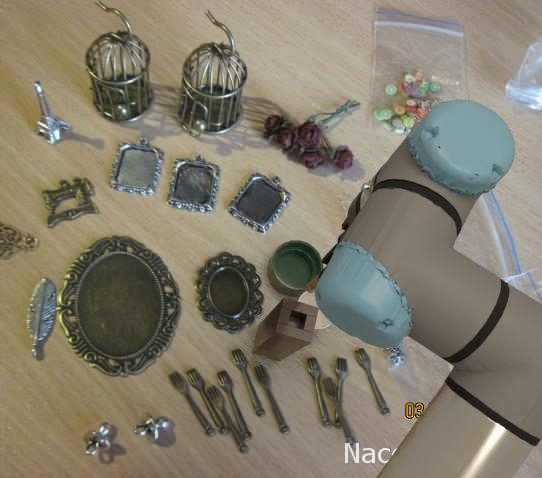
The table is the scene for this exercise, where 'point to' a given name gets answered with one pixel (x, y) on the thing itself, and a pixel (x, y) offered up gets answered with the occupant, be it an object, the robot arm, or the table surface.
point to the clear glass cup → (321, 319)
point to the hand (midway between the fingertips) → (329, 270)
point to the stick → (312, 285)
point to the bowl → (294, 267)
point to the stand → (285, 329)
